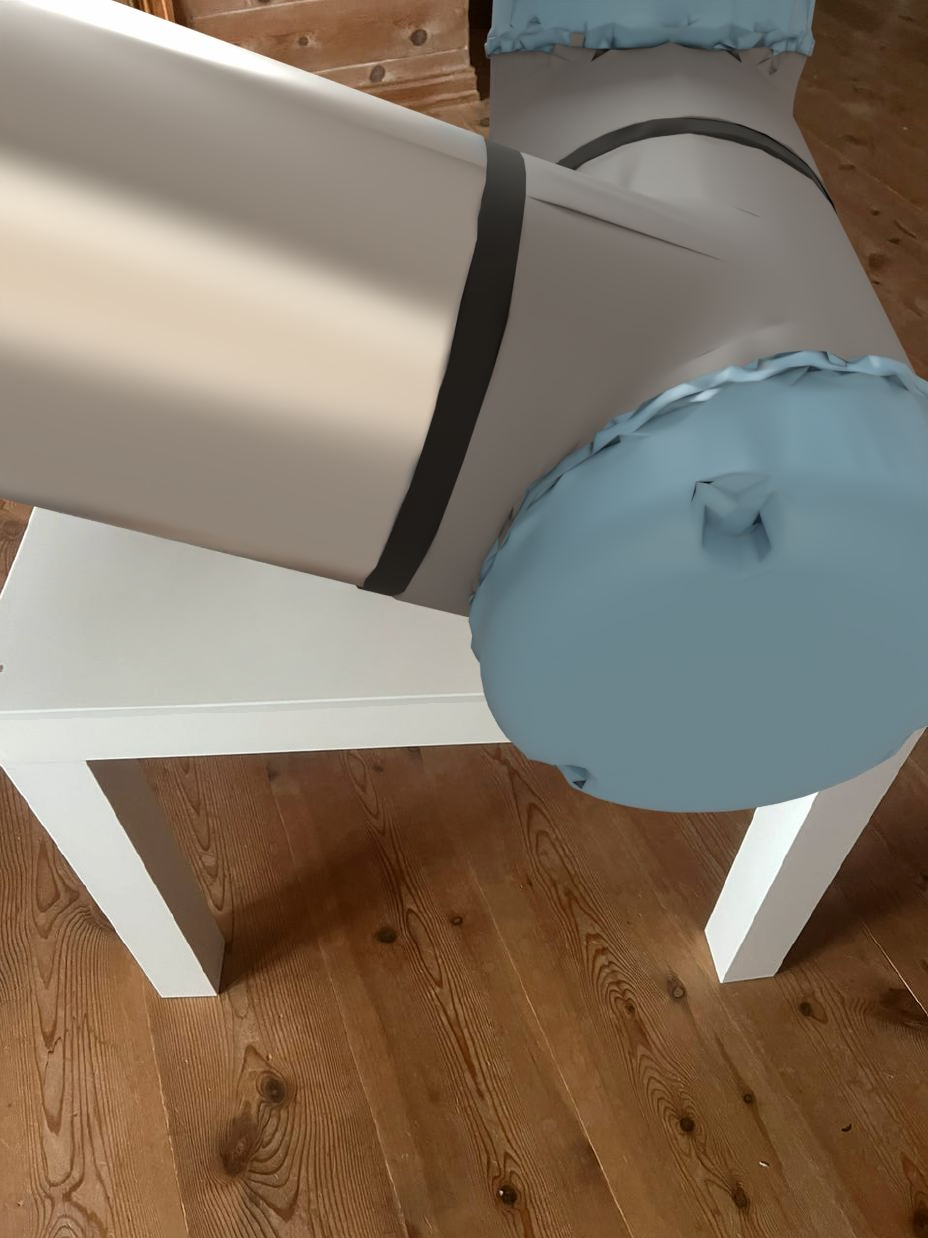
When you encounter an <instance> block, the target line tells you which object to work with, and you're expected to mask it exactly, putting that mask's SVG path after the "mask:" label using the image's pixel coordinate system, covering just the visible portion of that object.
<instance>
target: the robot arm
mask: <svg viewBox="0 0 928 1238" xmlns="http://www.w3.org/2000/svg"><path fill="white" fill-rule="evenodd" d="M815 6H816V0H492V13H491V28H490V29H489V31H488V33H487V37H486V42H485V43H484V45H483V46H484V51H485V57H486V59H488V60H490V70H489V71H490V72H489V73H490V77H489V83H490V84H489V116H488V117H489V124H488V139H486V138H485V137H484V135H481V134H479V133H475V132H474V131H471V130H467V129H465V128H462V127H459V126H457V125H454V124H452V123H448V122H446V121H444V120H440V119H437V118H435V117H432V116H430V115H426V114H424V113H422V112H418V111H416V110H413V109H410V108H407V107H405V106H402V105H399V104H396V103H394V102H391V101H388V100H386V99H383V98H380V97H379V96H375V95H372V94H369V93H366V92H364V91H361V90H358V89H355V88H353V87H350V86H347V85H346V84H345V85H344V84H342V83H339V82H337V81H334V80H332V79H328V78H326V77H324V76H323V77H322V76H320V75H318V74H315V73H312V72H310V71H306V70H304V69H301V68H298V67H296V66H293V65H290V64H287V63H284V62H282V61H279V60H276V59H274V58H271V57H268V56H265V55H262V54H261V53H260V54H259V53H257V52H254V51H252V50H249V49H246V48H245V47H242V46H241V47H240V46H238V45H235V44H233V43H230V42H228V41H224V40H222V39H220V38H219V39H218V38H216V37H214V36H211V35H208V34H206V33H202V32H200V31H197V30H195V29H192V28H189V27H186V26H183V25H180V24H178V23H175V22H173V21H169V20H167V19H164V18H162V17H160V16H159V17H158V16H156V15H153V14H151V13H148V12H144V11H143V10H140V9H137V8H135V7H131V6H129V5H126V4H123V3H120V2H117V1H115V0H0V499H3V500H6V501H10V502H13V503H18V504H23V505H27V506H30V507H35V508H37V509H38V508H39V509H41V510H42V509H44V510H47V511H51V512H55V513H58V514H59V513H60V514H63V515H68V516H71V517H75V518H79V519H83V520H87V521H91V522H96V523H100V524H104V525H107V526H113V527H116V528H121V529H123V530H128V531H132V532H137V533H140V534H145V535H149V536H153V537H157V538H161V539H165V540H169V541H174V542H177V543H181V544H184V545H189V546H192V547H193V546H194V547H196V548H197V547H198V548H201V549H206V550H210V551H214V552H219V553H222V554H227V555H230V556H235V557H238V558H243V559H247V560H251V561H253V562H254V561H255V562H258V563H263V564H266V565H272V566H275V567H279V568H283V569H287V570H291V571H295V572H300V573H304V574H308V575H311V576H316V577H321V578H323V579H328V580H332V581H336V582H340V583H344V584H347V585H348V584H349V585H353V586H355V587H356V588H357V589H358V590H361V591H366V592H370V593H375V594H378V595H382V596H386V597H392V598H393V599H394V600H395V601H400V602H404V603H408V604H411V605H415V606H420V607H423V608H428V609H432V610H436V611H441V612H443V613H447V614H453V615H457V616H461V617H465V618H468V626H469V629H470V633H471V641H470V649H471V651H472V653H473V656H474V657H475V659H476V660H477V662H478V663H479V672H480V680H481V684H482V685H481V686H482V690H483V691H482V692H483V695H484V699H485V701H486V704H487V707H488V709H489V711H490V713H491V715H492V717H493V719H494V721H495V723H496V724H497V726H498V728H499V729H500V731H501V732H502V733H503V735H504V736H505V738H506V739H507V740H508V741H510V743H512V744H513V745H514V747H516V749H518V750H519V751H520V752H521V753H522V754H523V755H524V756H525V759H527V760H530V761H535V762H541V763H543V764H547V765H550V766H553V767H554V768H556V769H557V770H558V771H560V772H561V774H562V775H563V777H564V778H565V780H566V782H567V783H568V785H569V786H571V787H572V789H575V790H577V791H579V792H582V793H584V794H587V795H589V796H592V797H594V798H596V799H598V800H603V801H606V802H609V803H612V804H613V803H614V804H617V805H620V806H624V807H625V806H626V807H629V808H630V807H631V808H636V809H640V810H641V809H642V810H648V811H653V812H654V811H655V812H656V811H657V812H667V813H723V812H724V813H725V812H727V813H728V812H734V811H735V812H736V811H742V810H750V809H752V810H753V809H758V808H762V807H767V806H773V805H778V804H783V803H787V802H790V801H793V800H797V799H802V798H805V797H807V796H808V797H809V796H811V795H814V794H816V793H819V792H821V791H822V792H823V791H825V790H828V789H830V788H833V787H835V786H837V785H840V784H843V783H845V782H848V781H850V780H853V779H856V778H857V777H859V776H861V775H862V774H864V773H866V772H868V771H870V770H872V769H874V768H875V767H877V766H879V765H881V764H882V763H884V762H886V761H888V760H889V759H891V758H892V757H894V756H896V755H897V753H898V752H899V751H900V750H901V748H902V747H903V746H904V744H905V743H906V742H907V741H908V740H909V739H910V737H911V736H912V735H913V734H914V733H915V731H918V730H921V729H923V728H926V727H928V381H927V380H925V379H924V378H923V377H920V376H918V375H917V373H916V371H915V369H914V368H913V365H912V363H911V362H910V360H909V357H908V355H907V354H906V352H905V349H904V347H903V345H902V343H901V342H900V339H899V336H898V335H897V333H896V331H895V328H894V327H893V325H892V323H891V321H890V319H889V317H888V316H887V313H886V311H885V309H884V307H883V304H882V303H881V301H880V299H879V297H878V295H877V293H876V291H875V289H874V287H873V285H872V283H871V281H870V279H869V277H868V274H867V273H866V271H865V270H864V267H863V265H862V264H861V261H860V259H859V257H858V255H857V253H856V251H855V249H854V247H853V245H852V243H851V241H850V239H849V237H848V235H847V232H846V231H845V229H844V227H843V225H842V222H841V221H840V219H839V216H838V213H837V210H836V207H835V204H834V201H833V199H832V196H831V195H830V193H829V190H828V189H827V186H826V184H825V182H824V179H823V177H822V174H821V173H820V171H819V169H818V167H817V164H816V162H815V160H814V158H813V156H812V152H811V151H810V149H809V147H808V145H807V143H806V140H805V138H804V136H803V134H802V132H801V129H800V127H799V125H798V124H797V122H796V120H795V117H794V104H795V103H794V101H795V96H796V92H797V88H798V85H799V84H798V83H799V80H800V79H801V75H802V73H803V70H804V67H805V64H806V62H807V59H808V57H812V56H813V53H814V47H815V43H816V40H815V39H814V36H813V31H812V25H813V18H814V12H815Z"/></svg>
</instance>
